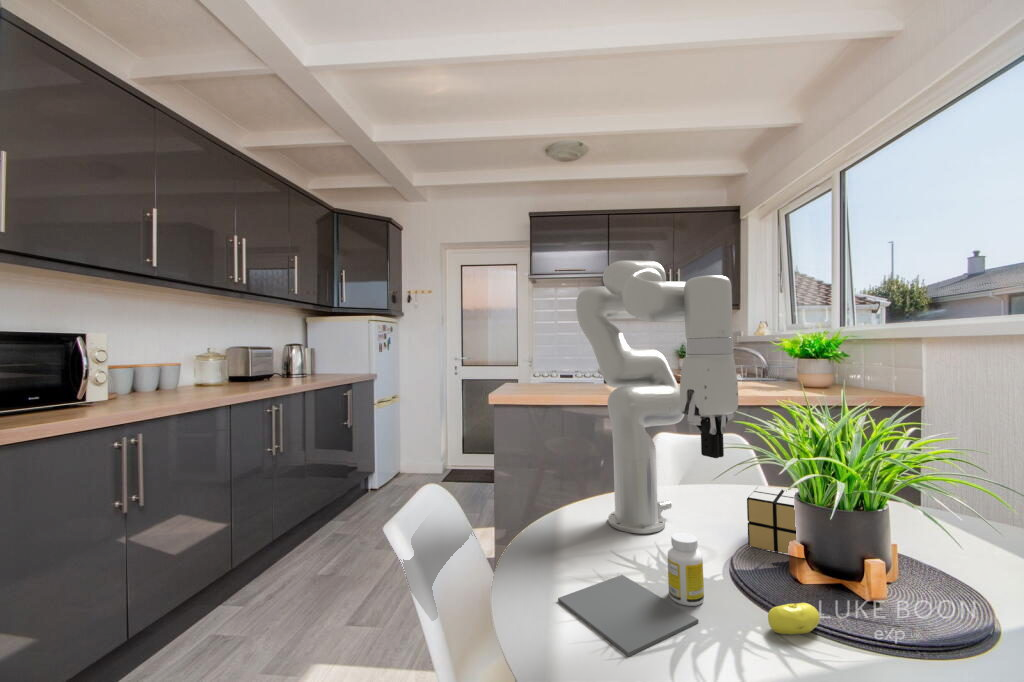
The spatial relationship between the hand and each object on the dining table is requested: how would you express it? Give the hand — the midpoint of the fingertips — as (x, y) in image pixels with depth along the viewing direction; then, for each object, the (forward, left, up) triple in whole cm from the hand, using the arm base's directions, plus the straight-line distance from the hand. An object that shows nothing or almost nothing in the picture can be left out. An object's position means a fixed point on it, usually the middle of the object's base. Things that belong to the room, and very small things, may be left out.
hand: (712, 455), depth 80 cm
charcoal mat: (+18, -3, -22) cm, 29 cm away
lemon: (+1, +14, -22) cm, 26 cm away
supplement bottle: (+7, 0, -22) cm, 23 cm away
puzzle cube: (-25, -3, -22) cm, 33 cm away
